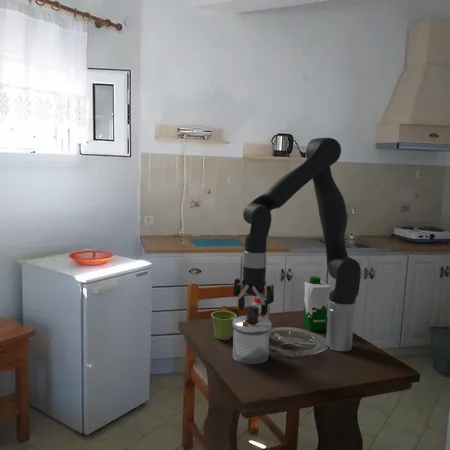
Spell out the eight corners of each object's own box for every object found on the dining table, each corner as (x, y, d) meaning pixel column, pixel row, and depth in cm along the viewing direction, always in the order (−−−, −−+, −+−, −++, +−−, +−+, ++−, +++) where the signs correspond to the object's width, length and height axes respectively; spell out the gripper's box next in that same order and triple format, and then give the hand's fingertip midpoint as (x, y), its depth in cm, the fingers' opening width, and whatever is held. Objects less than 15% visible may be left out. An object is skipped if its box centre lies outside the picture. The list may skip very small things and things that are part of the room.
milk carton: (319, 323, 200) (322, 275, 197) (329, 331, 191) (333, 281, 188) (299, 324, 197) (302, 276, 194) (309, 332, 189) (312, 282, 186)
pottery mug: (209, 323, 196) (216, 304, 199) (229, 331, 200) (235, 312, 202) (223, 325, 186) (230, 305, 188) (243, 334, 189) (250, 313, 191)
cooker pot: (244, 346, 173) (246, 316, 172) (275, 355, 166) (277, 324, 164) (224, 357, 163) (225, 326, 161) (256, 368, 156) (258, 335, 154)
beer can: (267, 342, 177) (269, 300, 175) (250, 340, 178) (252, 298, 176) (269, 336, 183) (271, 295, 181) (252, 334, 185) (254, 293, 182)
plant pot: (227, 331, 187) (227, 309, 186) (240, 339, 179) (241, 317, 178) (205, 335, 182) (206, 312, 181) (218, 344, 174) (219, 320, 173)
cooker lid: (246, 316, 172) (246, 299, 171) (278, 324, 164) (279, 307, 164) (224, 326, 161) (225, 308, 160) (258, 335, 154) (259, 317, 153)
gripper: (279, 266, 159) (276, 314, 161) (242, 259, 167) (240, 305, 169) (267, 270, 153) (265, 320, 155) (230, 263, 161) (228, 310, 163)
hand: (252, 312), depth 162 cm, fingers open, 8 cm apart
